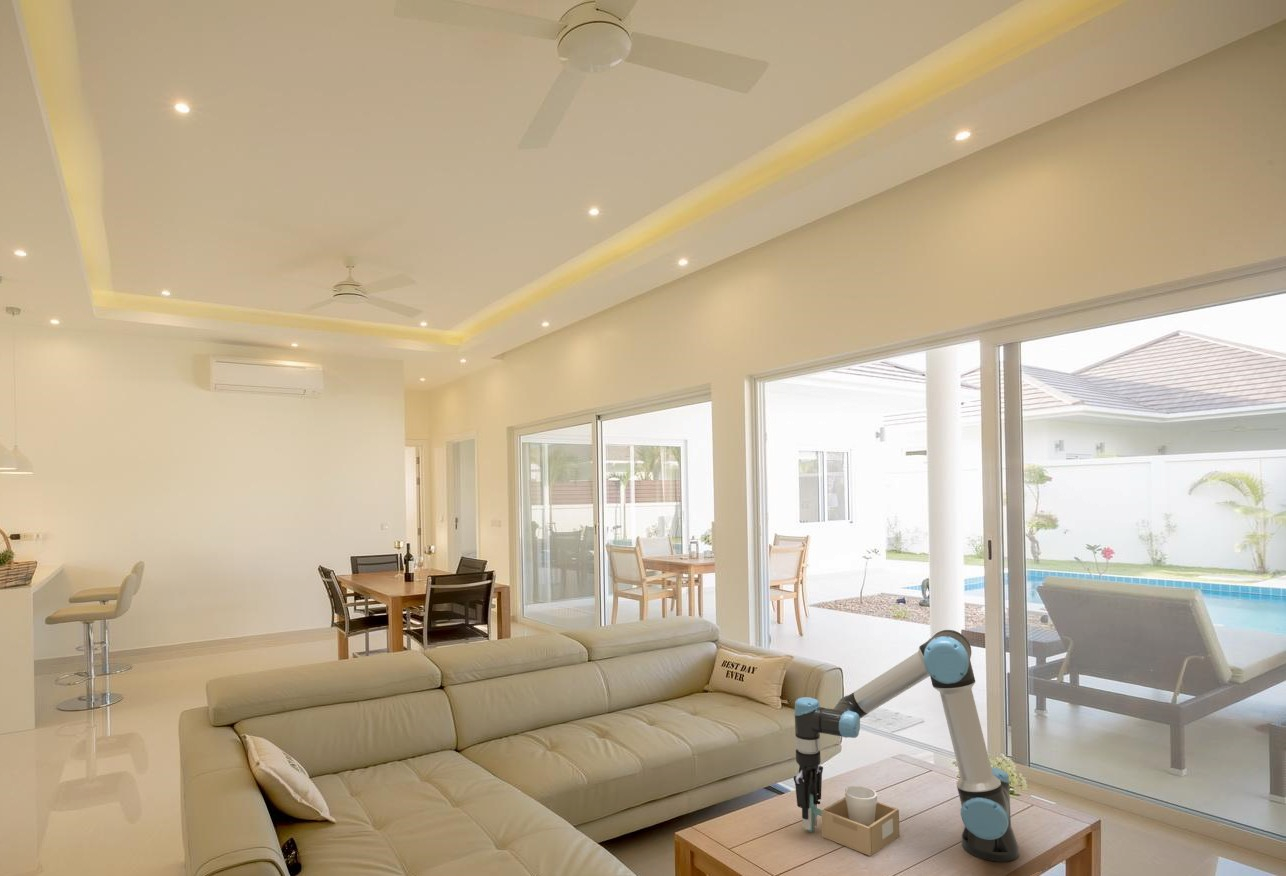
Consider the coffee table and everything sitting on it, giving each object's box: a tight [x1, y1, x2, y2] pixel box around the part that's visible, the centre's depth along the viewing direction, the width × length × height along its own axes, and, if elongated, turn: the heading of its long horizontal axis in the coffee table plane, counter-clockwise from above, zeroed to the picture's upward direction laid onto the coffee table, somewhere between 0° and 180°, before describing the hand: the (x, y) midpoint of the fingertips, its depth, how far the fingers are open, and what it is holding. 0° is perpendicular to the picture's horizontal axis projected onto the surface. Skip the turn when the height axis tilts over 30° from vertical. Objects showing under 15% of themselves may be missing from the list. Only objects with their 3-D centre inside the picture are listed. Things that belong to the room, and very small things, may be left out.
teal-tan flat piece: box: [805, 794, 872, 857], centre depth 219 cm, size 22×2×11 cm, turn 43°
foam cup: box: [844, 785, 878, 827], centre depth 223 cm, size 10×9×13 cm
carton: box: [823, 797, 901, 856], centre depth 223 cm, size 16×16×8 cm
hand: (810, 826), depth 225 cm, fingers closed on teal-tan flat piece, 2 cm apart
